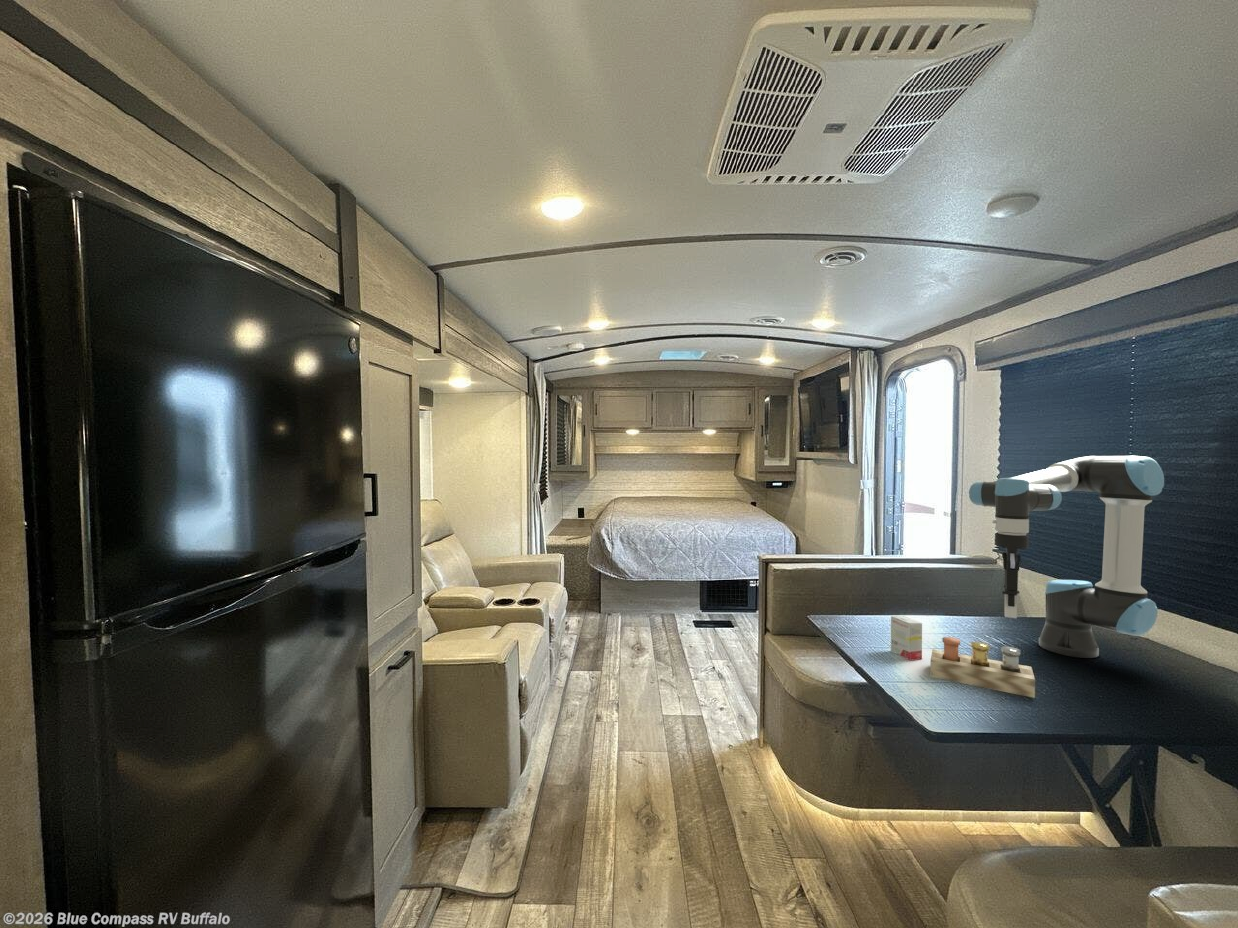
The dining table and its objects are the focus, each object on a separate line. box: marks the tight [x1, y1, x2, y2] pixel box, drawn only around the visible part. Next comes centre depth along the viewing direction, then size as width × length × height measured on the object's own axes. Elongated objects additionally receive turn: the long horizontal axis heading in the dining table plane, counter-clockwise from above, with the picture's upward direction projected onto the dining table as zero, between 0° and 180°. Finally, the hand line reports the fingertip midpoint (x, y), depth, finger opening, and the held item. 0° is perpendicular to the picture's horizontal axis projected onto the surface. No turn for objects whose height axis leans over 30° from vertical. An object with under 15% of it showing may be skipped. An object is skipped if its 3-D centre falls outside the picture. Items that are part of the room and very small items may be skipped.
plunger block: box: [929, 649, 1036, 699], centre depth 149 cm, size 24×10×5 cm, turn 56°
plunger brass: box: [970, 641, 990, 667], centre depth 149 cm, size 4×4×6 cm
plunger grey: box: [1000, 645, 1021, 673], centre depth 145 cm, size 4×4×6 cm
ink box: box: [890, 615, 923, 661], centre depth 168 cm, size 9×5×12 cm, turn 13°
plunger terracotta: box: [941, 636, 961, 662], centre depth 153 cm, size 4×4×6 cm
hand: (1010, 616), depth 145 cm, fingers closed
